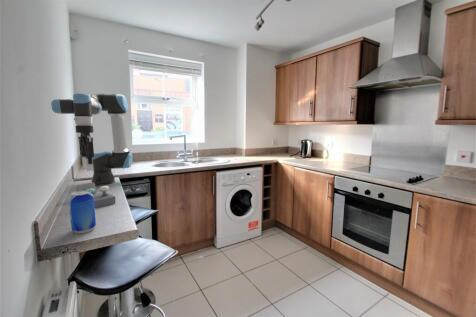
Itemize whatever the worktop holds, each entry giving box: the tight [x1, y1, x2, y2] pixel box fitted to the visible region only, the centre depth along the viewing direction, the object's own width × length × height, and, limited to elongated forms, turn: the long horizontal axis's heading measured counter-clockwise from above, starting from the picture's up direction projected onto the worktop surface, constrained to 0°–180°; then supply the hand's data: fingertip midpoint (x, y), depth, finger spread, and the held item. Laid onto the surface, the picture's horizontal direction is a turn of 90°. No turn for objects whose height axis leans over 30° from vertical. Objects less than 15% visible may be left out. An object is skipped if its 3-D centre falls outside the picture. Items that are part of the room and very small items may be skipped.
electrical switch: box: [75, 182, 98, 195], centre depth 135 cm, size 9×5×9 cm, turn 141°
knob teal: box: [86, 188, 95, 195], centre depth 123 cm, size 4×4×6 cm
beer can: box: [68, 190, 97, 234], centre depth 94 cm, size 8×8×16 cm
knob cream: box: [99, 185, 110, 197], centre depth 128 cm, size 4×4×6 cm
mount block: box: [93, 192, 116, 209], centre depth 126 cm, size 13×12×4 cm
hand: (88, 169), depth 121 cm, fingers open, 5 cm apart
